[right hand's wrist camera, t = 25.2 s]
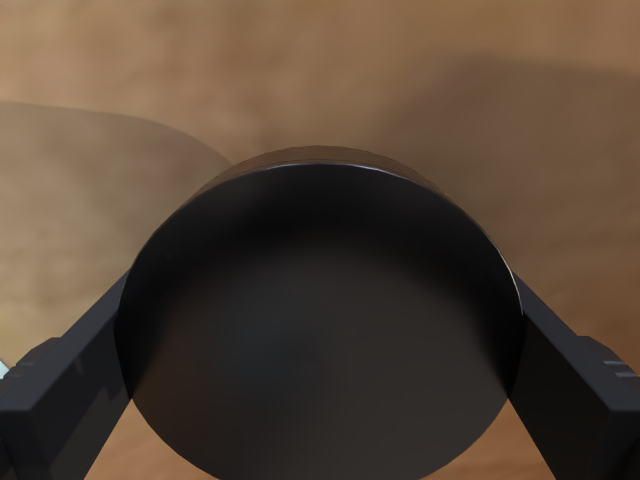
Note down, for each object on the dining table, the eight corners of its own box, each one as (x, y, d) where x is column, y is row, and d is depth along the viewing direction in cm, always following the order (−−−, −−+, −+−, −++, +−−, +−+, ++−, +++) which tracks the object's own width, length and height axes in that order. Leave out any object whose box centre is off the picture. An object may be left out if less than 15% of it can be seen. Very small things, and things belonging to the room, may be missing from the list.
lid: (85, 317, 13) (35, 368, 11) (314, 55, 10) (313, 48, 8) (322, 480, 15) (323, 547, 13) (555, 311, 13) (605, 360, 10)
